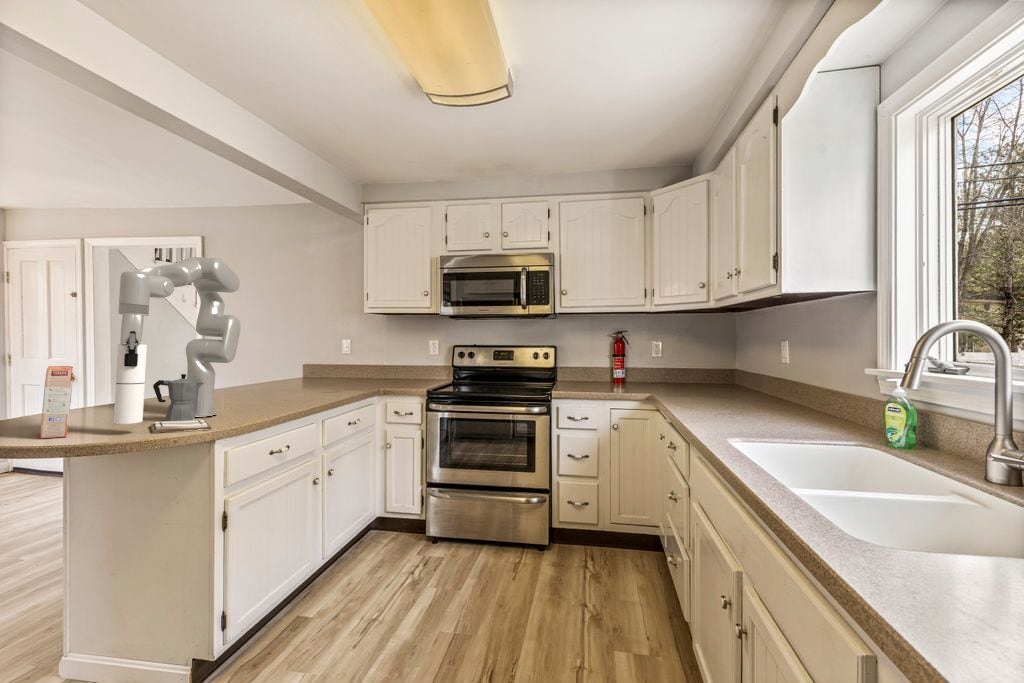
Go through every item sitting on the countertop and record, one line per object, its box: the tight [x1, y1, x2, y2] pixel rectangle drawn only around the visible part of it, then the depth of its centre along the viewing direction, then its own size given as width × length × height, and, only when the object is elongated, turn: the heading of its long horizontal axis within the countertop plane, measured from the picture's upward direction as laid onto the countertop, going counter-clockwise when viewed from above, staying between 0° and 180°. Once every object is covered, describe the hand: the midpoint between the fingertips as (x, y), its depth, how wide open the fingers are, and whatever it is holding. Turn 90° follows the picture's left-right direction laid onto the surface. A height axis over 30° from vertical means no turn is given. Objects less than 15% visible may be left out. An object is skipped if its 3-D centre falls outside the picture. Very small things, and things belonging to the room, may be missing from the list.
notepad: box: [150, 419, 212, 434], centre depth 157 cm, size 14×16×2 cm
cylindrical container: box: [113, 343, 148, 425], centre depth 144 cm, size 7×7×25 cm
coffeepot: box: [152, 373, 204, 421], centre depth 169 cm, size 15×9×18 cm, turn 129°
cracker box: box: [39, 365, 74, 439], centre depth 138 cm, size 14×6×21 cm, turn 44°
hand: (130, 365), depth 144 cm, fingers closed on cylindrical container, 7 cm apart
